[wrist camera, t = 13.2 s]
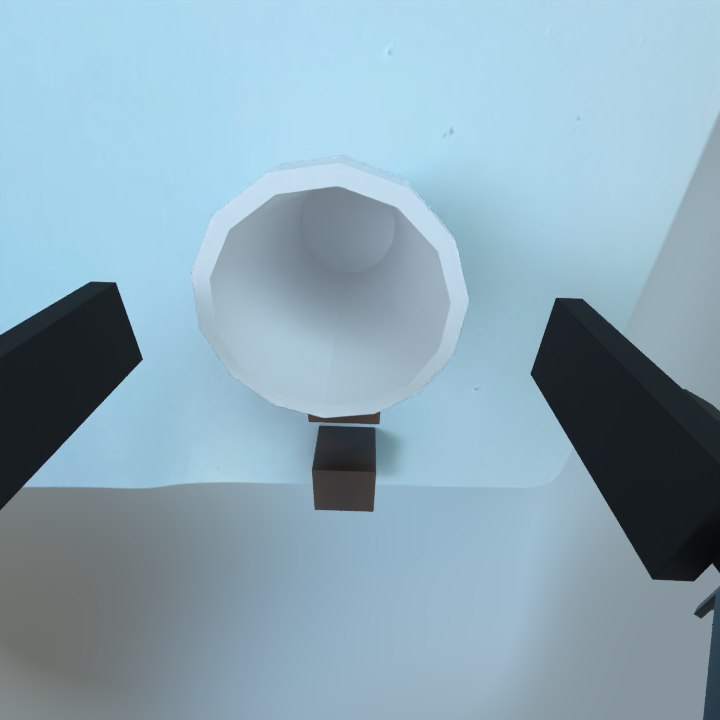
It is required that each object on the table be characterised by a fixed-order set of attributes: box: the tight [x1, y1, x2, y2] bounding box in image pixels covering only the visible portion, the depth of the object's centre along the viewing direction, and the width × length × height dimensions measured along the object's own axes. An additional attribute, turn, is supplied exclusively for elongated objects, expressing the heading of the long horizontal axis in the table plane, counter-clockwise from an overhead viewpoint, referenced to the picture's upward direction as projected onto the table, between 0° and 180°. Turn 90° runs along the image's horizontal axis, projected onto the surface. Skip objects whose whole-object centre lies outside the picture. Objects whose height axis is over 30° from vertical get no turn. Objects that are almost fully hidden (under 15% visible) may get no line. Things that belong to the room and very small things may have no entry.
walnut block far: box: [312, 426, 376, 512], centre depth 33 cm, size 5×5×5 cm
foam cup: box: [191, 155, 469, 418], centre depth 19 cm, size 10×9×13 cm
